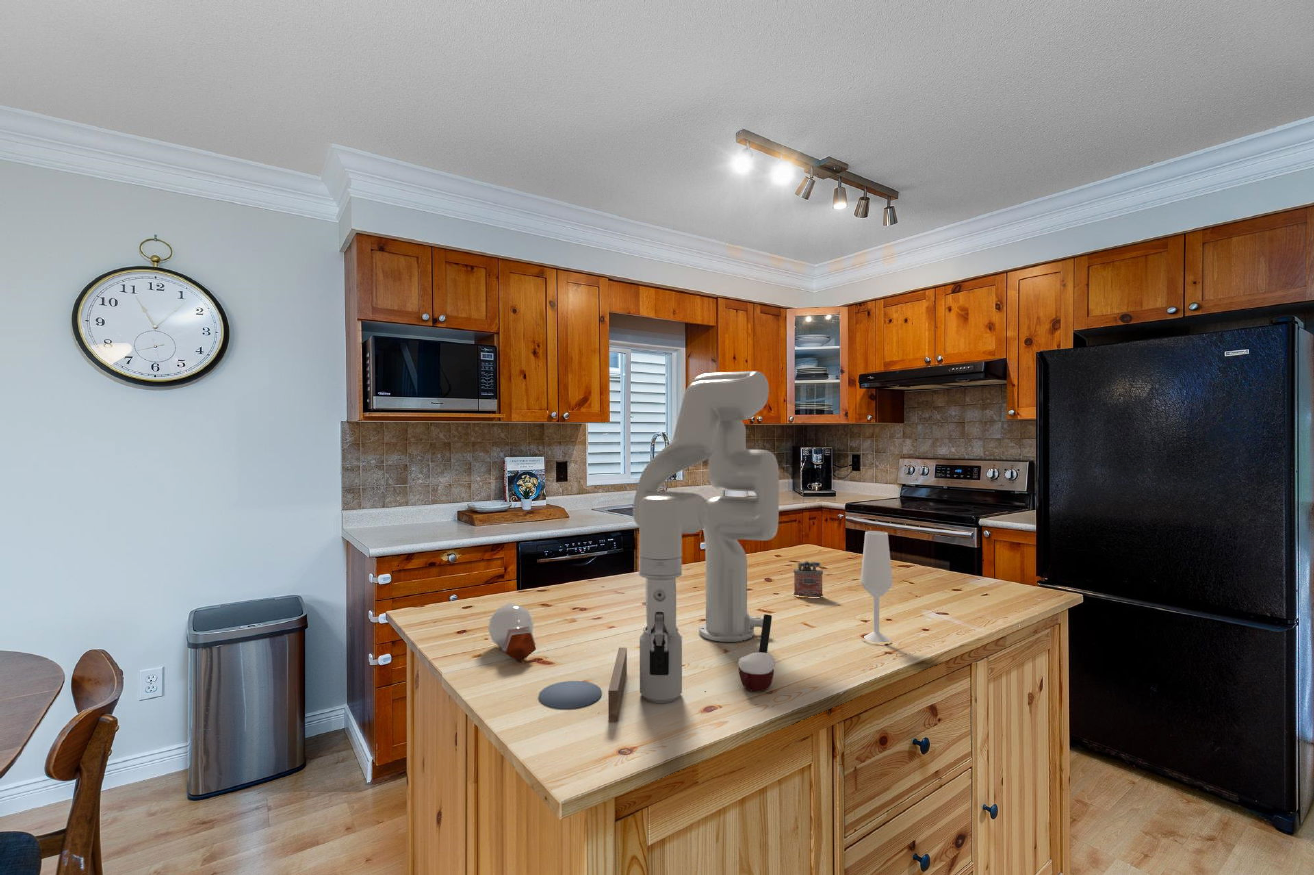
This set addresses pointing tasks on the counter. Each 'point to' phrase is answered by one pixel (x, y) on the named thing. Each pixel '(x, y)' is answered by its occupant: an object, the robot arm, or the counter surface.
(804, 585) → the lighter
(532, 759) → the counter surface
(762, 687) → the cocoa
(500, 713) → the counter surface
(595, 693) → the mat
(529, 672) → the counter surface
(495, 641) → the potion bottle
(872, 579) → the champagne flute
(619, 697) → the low wall
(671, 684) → the can
